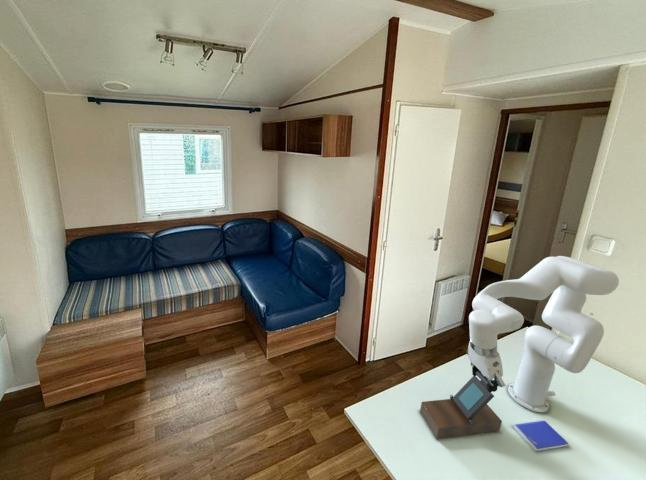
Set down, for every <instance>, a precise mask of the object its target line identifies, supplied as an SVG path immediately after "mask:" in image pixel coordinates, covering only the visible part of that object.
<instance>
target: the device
mask: <svg viewBox="0 0 646 480" xmlns="http://www.w3.org/2000/svg"><path fill="white" fill-rule="evenodd" d="M476 375H477V376H473V375H472V377H471V378H470V379H469V380H468V381H467V382H466V383H465V384H464V385H463V386H462V387H461V388H460V389H459V390H458V392H457V393H456V394H455V395H453V398H452V399H453V400H454V401H455V403H456V404H457V405H458V407H459V408H460V409H461V410H462V412H463V413H464V414H465V416H466V417H467V418H468V419H469V420H470V419H471V420H472V418H473V417H474V416H475V415H476V414H477V413H478V412H479V411H480V410H481V409H482V408H483V407H484V406H485V405H486V404H487V405H488V403H490V401H492V399H493V398H495V395H494V393H493V392H488V383H489V381H488V378H487V377H486V376H485V375H484V374H483V373H482V372H480V371H477V372H476Z"/></svg>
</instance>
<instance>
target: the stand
mask: <svg viewBox="0 0 646 480" xmlns="http://www.w3.org/2000/svg"><path fill="white" fill-rule="evenodd" d="M453 397H454V395H453V394H450V395H449V398H446V399H436V400H426V401H421V403H420V409H419V414H420V415H421V417H422V418H423V420H424V422H425V423H426V425H427V426H428V428H429V429H430V431H431V433H432V435H433V436H434V438H435V439H436V440H442V439H450V438H459V437H468V436H476V435H483V434H484V435H485V434H493V433H499V432H500V430H501V426H502V423H503V421H502V419H501V418H500V417H499V416H498V414H497V413H496V412H494V410H493V409H492V408H491V407H490V406H489V404H488V403H487V404H486V405H485V406H484V407H483V408H482V409H481V410H480V411H479V412H478V413H477V414H476V415H475V416H474V417H473V418H472V420H471V419H470V420H469V419H468V418H467V417H466V416H465V414H464V413H463V412H462V410H461V409H460V408H459V407H458V405H457V404H456V403H455V401H454V400H453V399H452V398H453Z"/></svg>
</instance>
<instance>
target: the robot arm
mask: <svg viewBox="0 0 646 480" xmlns="http://www.w3.org/2000/svg"><path fill="white" fill-rule="evenodd" d="M619 279H620V278H619V277H618V274H616V272H615V271H612V270H609V269H606V268H604V267H600V266H597V265H594V264H591V263H588V262H586V261H584V260H580V259H577V258H574V257H571V256H565V255H557V256H547V257H544V258H543V259H542V260H541V261H540V262H538V263H537V264H536V265H535V266H533V267H532V268H531V269H530V270H528V271H527V272H526V273H525V274H523V275H522V276H521V277H519V278H517V279H506V280H501V281H496V282H493V283H491V284H488V285H487V286H486V287H485V288H484V289H482V290H480V291H479V292H478V293H477V294H476V296H475V297H473V300H472V302H471V306H472V309H473V311H471V312H470V313H469V315H468V324H469V325H468V326H469V329H468V330H469V342H468V346H467V349H465V353H466V355H467V356H468V360H469V361H470V366H471V371H472V373H471V374H472V377H473V376H476V377H478V376H477V375H476V372H477V371H480V372H481V373H482V374H483V375H484V376H486V377H487V378H488V381H489V383H488V392H491V393H495V392H497V391H498V387H499V388H504V387H506V383H505V381H504V380H503V378H502V377H503V376H504V370H503V368H504V367H503V362H502V359H501V355H500V352H499V351H498V335H501V334H505V333H511V332H514V331H517V330H519V329H521V328H522V326H523V324H524V322H525V318H524V315H523V314H522V313H521V312H520V311H518V310H517V309H515V308H513V307H511V306H510V305H508V304H506V303H505V302H502V301H501V300H499V299H501V298H507V297H509V298H519V299H524V300H525V299H526V300H532V301H542V300H545V299H547V298H548V297H549V296H550V295H551V296H550V298H549V299H548V302H547V303H546V304H545V307H544V309H543V311H542V314H541V319H542V321H543V323H544V324H546V325H547V326H549V327H551V328H552V329H554V330H556V331H557V332H560V333H561V334H563V335H565V336H567V337H569V338H571V339H572V340H573V341H571V340H569V339H567V338H565V337H563V336H562V335H560V334H558V333H556V332H554V331H553V330H551V329H549V328H547V327H544V326H542V325H531V326H529V327H528V328H527V329H526V330H525V333H524V346H523V353H522V357H521V360H520V364H519V368H518V372H517V373H516V378H515V381H514V382H512V383H510V384H509V385H508V388H507V391H508V394H509V396H510V397H511V398H512V399H513V401H515V402H516V403H517V404H519V405H521V407H523V408H525V409H526V410H530V411H532V412H535V413H546V412H548V411H549V409H550V403H549V401H548V398H549V397H555V396H556V393H555V391H554V390H549V389H550V387H551V383H552V380H553V377H554V375H555V371H556V366H555V364H556V365H557V366H559V367H561V368H563V369H564V370H565V371H567V372H569V373H572V374H579V373H580V374H581V372H583V371H584V370H586V368H587V366H588V364H589V363H590V361H591V359H592V358H593V356H594V354H595V352H596V350H597V349H598V347H599V345H600V343H601V342H602V339H603V337H604V334H605V328H604V326H603V323H601V322H600V321H599V320H597V319H595V318H593V317H592V316H590V315H587V314H585V313H583V312H582V310H583V307H584V306H585V304H586V302H587V295H588V296H589V295H591V296H607V295H609V294H612V293H614V291H616V289H617V288H618V287H619V283H620V280H619Z"/></svg>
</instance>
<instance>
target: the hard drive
mask: <svg viewBox="0 0 646 480" xmlns="http://www.w3.org/2000/svg"><path fill="white" fill-rule="evenodd" d="M513 428H514V430H515V431H517V433H518V434H519V435H520V436H521V437H522V438H523V439H524V440H525V441H526V442H527V444H528V445H529V446H530V447H531V448H532V449H533V450H534V451H535V452H539V451H545V450H551V449H558V448H563V447H568V446H569V442H568V441H567V440H566V439H565V438H563V437H562V435H561V434H560V433H558V432H557V431H556V430H555V428H554V427H552V426H551V425H550V424H549V423H548V422H547V421H546V420H537V421H532V422H525V423H515V424H514V426H513Z"/></svg>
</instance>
